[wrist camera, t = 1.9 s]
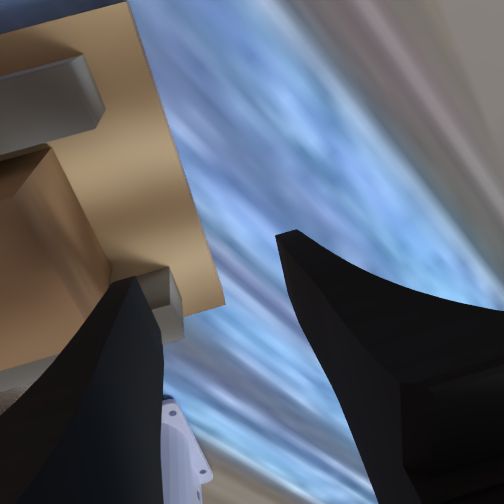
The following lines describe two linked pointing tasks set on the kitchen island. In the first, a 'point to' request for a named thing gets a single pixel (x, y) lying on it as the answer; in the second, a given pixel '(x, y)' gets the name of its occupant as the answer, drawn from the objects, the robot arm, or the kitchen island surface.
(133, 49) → the chute board
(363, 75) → the kitchen island surface
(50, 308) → the walnut block
